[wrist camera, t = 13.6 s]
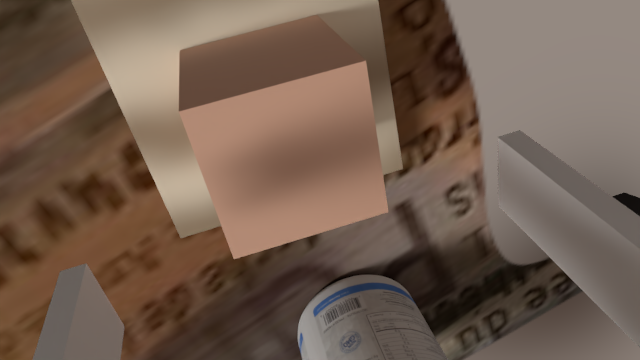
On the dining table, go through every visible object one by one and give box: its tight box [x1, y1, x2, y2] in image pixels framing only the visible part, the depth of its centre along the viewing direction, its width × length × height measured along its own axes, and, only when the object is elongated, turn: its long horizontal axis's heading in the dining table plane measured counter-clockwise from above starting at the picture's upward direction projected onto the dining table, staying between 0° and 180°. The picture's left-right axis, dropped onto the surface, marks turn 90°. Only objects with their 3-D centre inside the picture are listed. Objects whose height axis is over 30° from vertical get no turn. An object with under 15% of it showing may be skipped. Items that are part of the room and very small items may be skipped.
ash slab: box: [71, 0, 403, 238], centre depth 28 cm, size 14×14×3 cm
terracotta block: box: [179, 15, 388, 259], centre depth 23 cm, size 7×7×8 cm
